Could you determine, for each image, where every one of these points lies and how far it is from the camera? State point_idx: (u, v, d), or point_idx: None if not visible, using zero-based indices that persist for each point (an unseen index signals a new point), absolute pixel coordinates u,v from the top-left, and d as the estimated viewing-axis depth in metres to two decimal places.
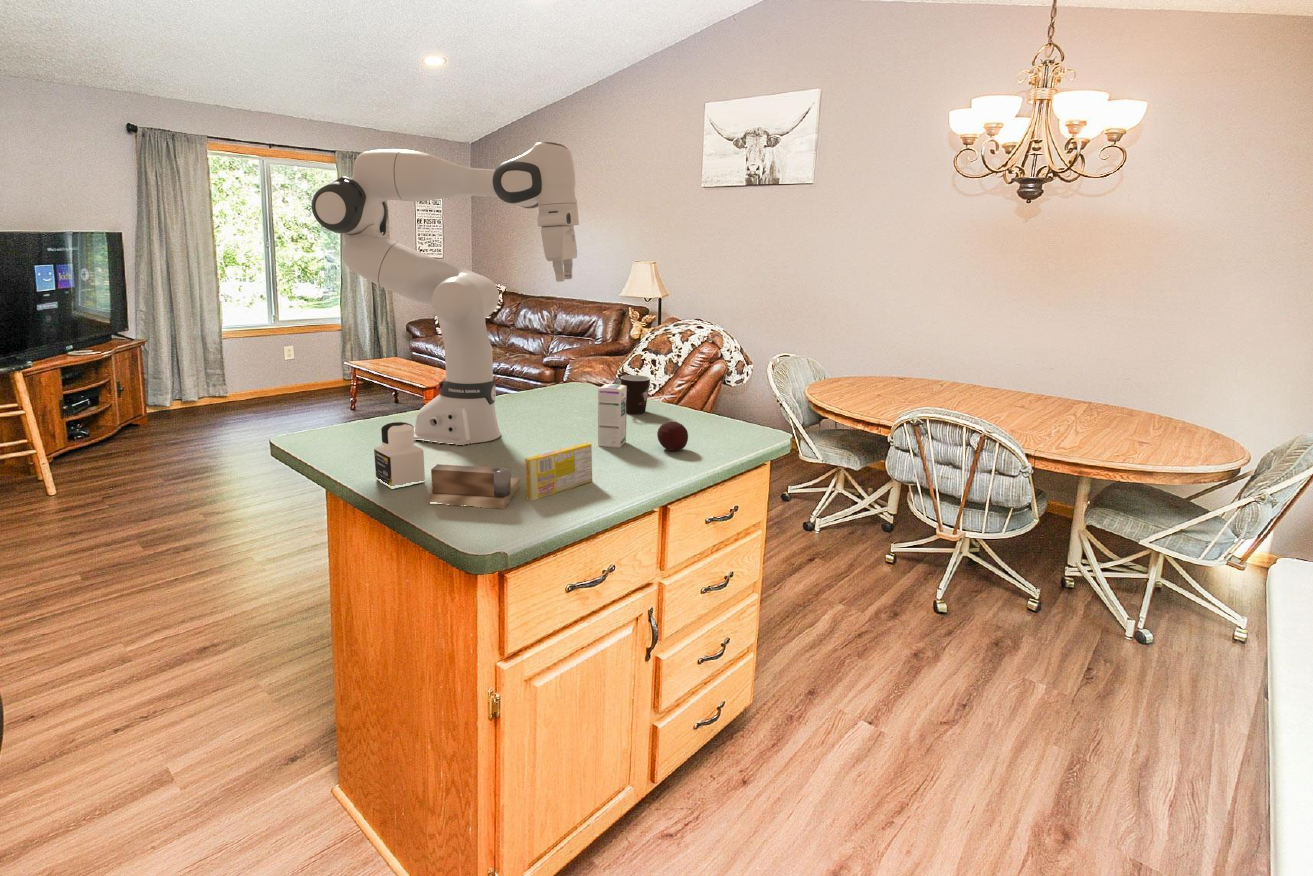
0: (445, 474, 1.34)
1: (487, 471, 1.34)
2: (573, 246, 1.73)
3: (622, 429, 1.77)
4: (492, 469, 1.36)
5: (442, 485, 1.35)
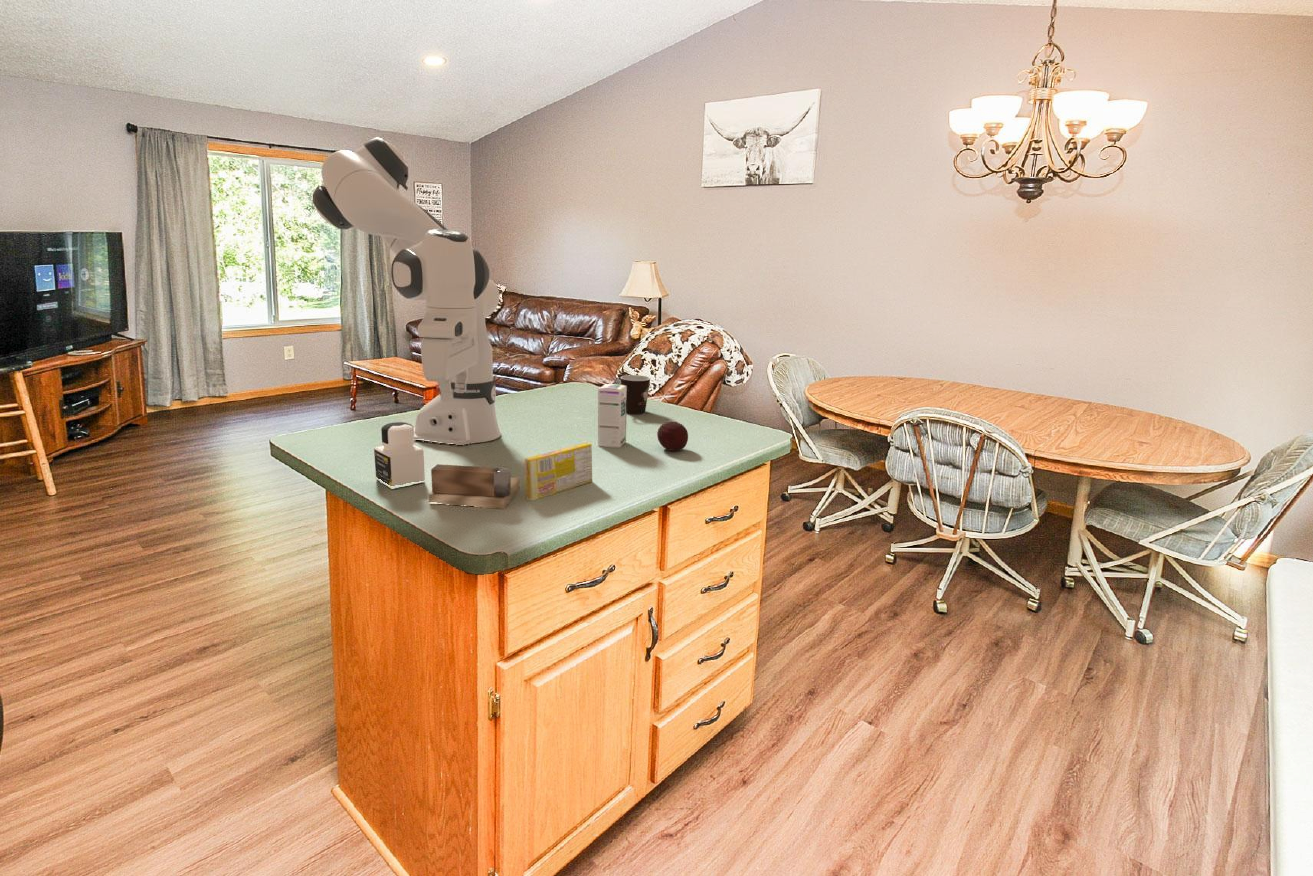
0: (445, 474, 1.34)
1: (487, 471, 1.34)
2: (471, 353, 1.40)
3: (622, 429, 1.77)
4: (492, 469, 1.36)
5: (442, 485, 1.35)
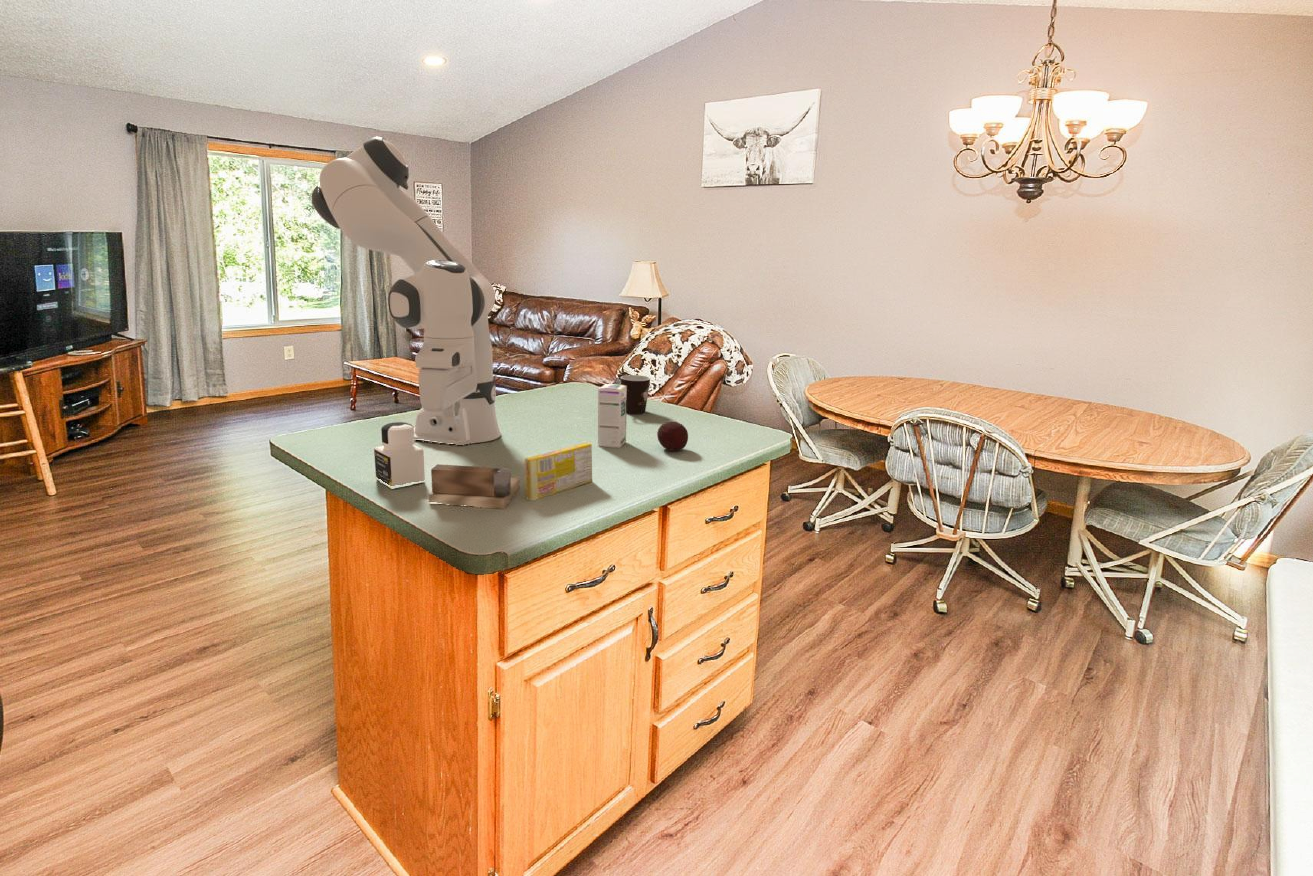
0: (445, 474, 1.34)
1: (487, 471, 1.34)
2: (469, 380, 1.41)
3: (622, 429, 1.77)
4: (492, 469, 1.36)
5: (442, 485, 1.35)
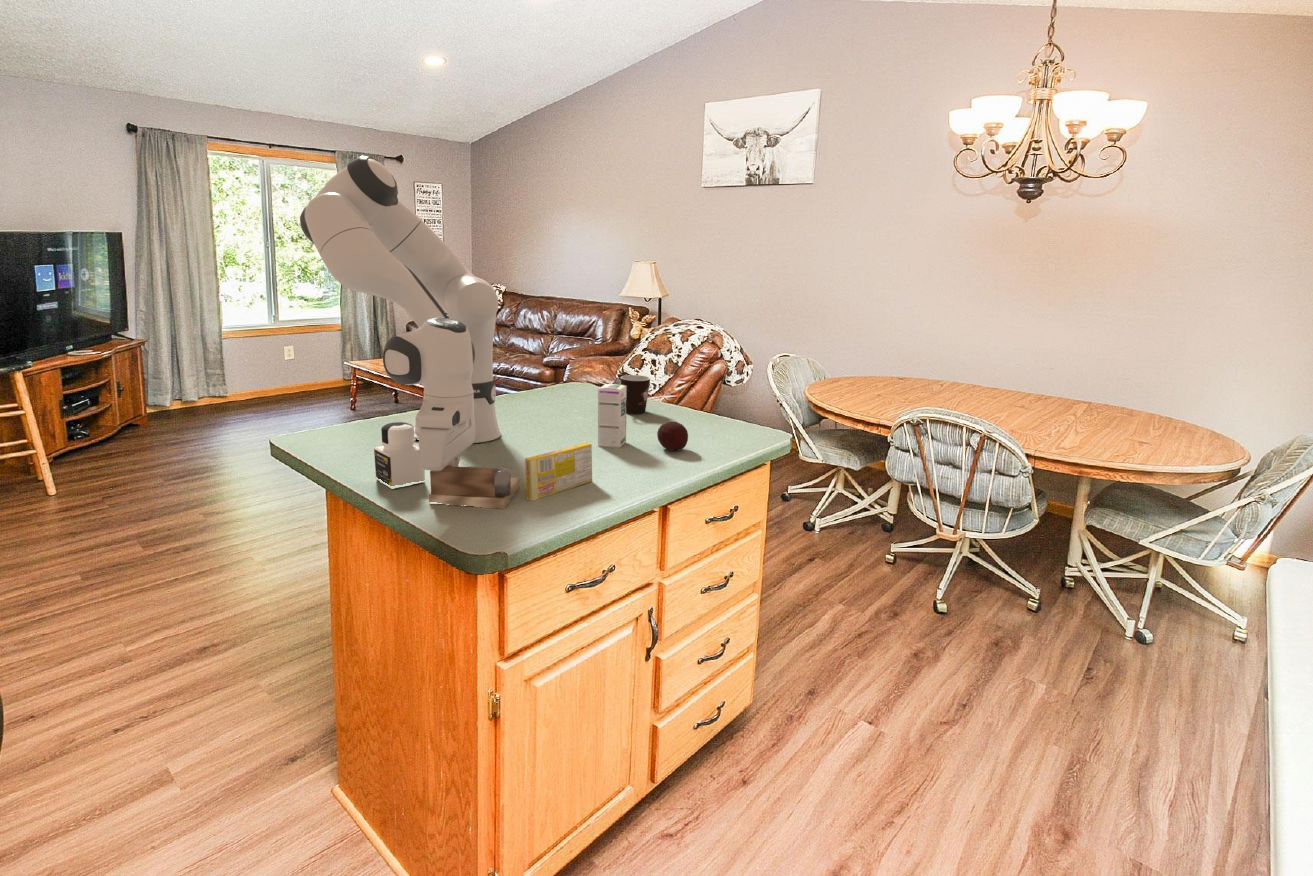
0: (444, 476, 1.34)
1: (487, 471, 1.34)
2: (468, 434, 1.42)
3: (622, 429, 1.77)
4: (491, 469, 1.35)
5: (441, 486, 1.34)
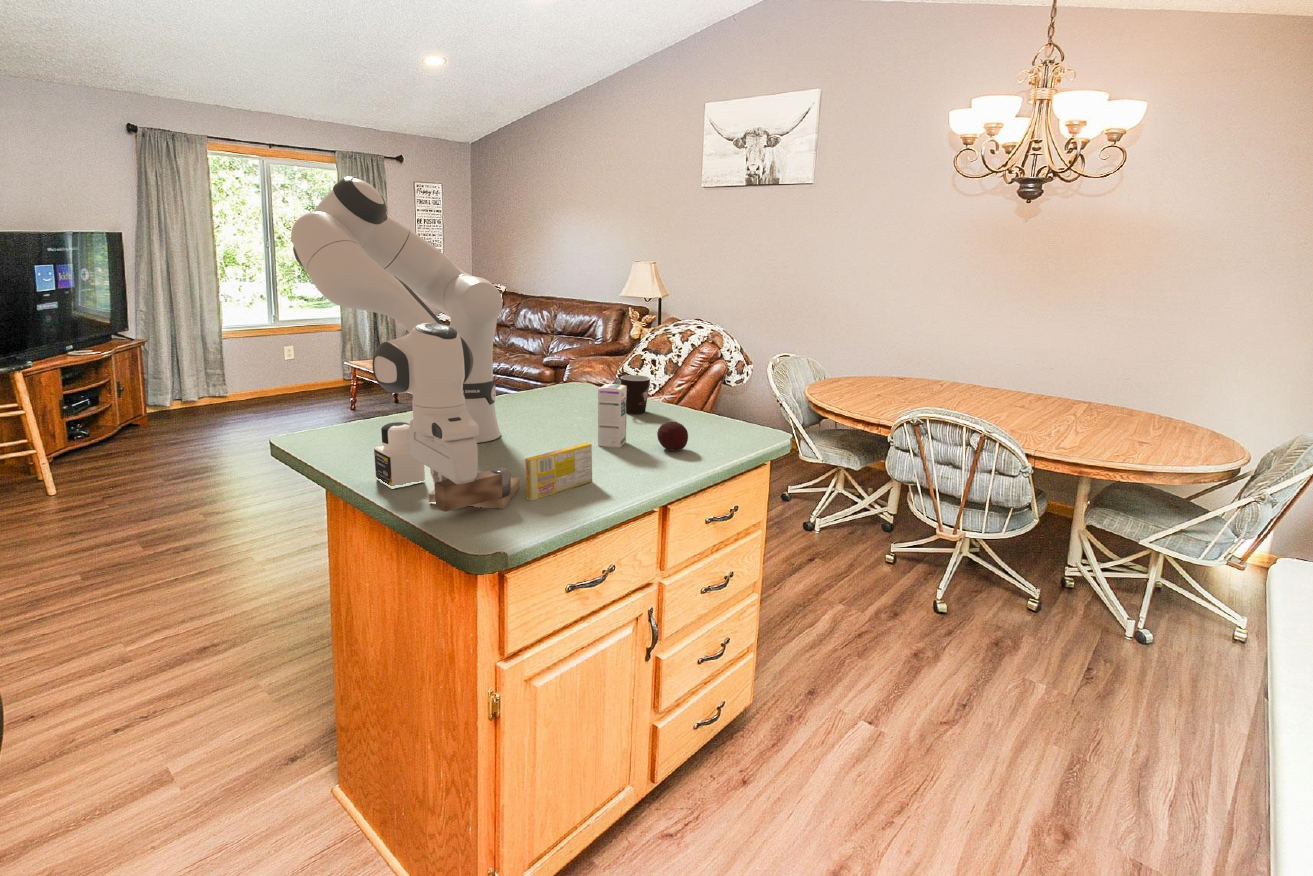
0: (458, 488, 1.27)
1: (492, 474, 1.33)
2: None
3: (622, 429, 1.77)
4: (491, 472, 1.34)
5: (455, 500, 1.28)
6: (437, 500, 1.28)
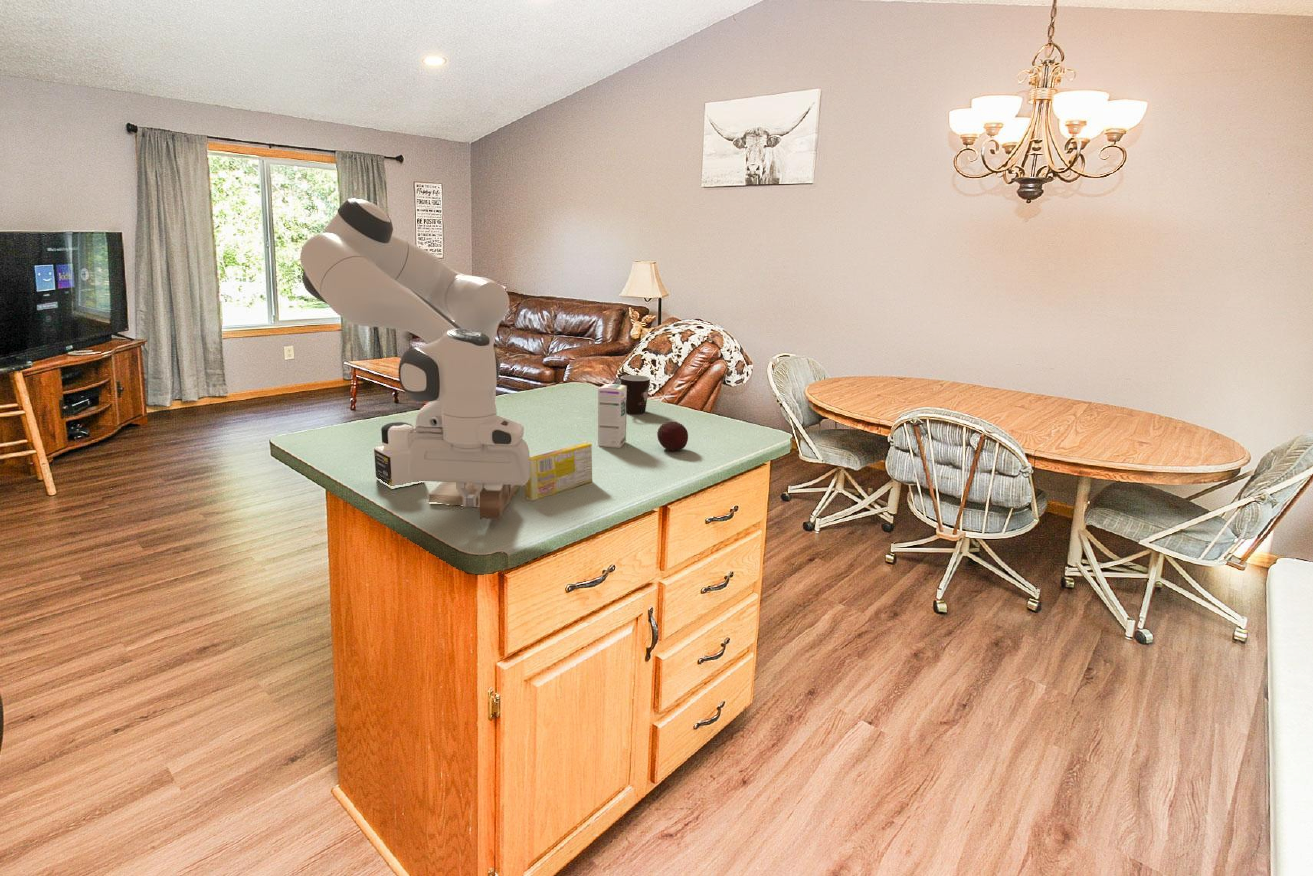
0: (501, 493, 1.26)
1: None
2: None
3: (622, 429, 1.77)
4: None
5: (500, 506, 1.26)
6: (484, 511, 1.24)
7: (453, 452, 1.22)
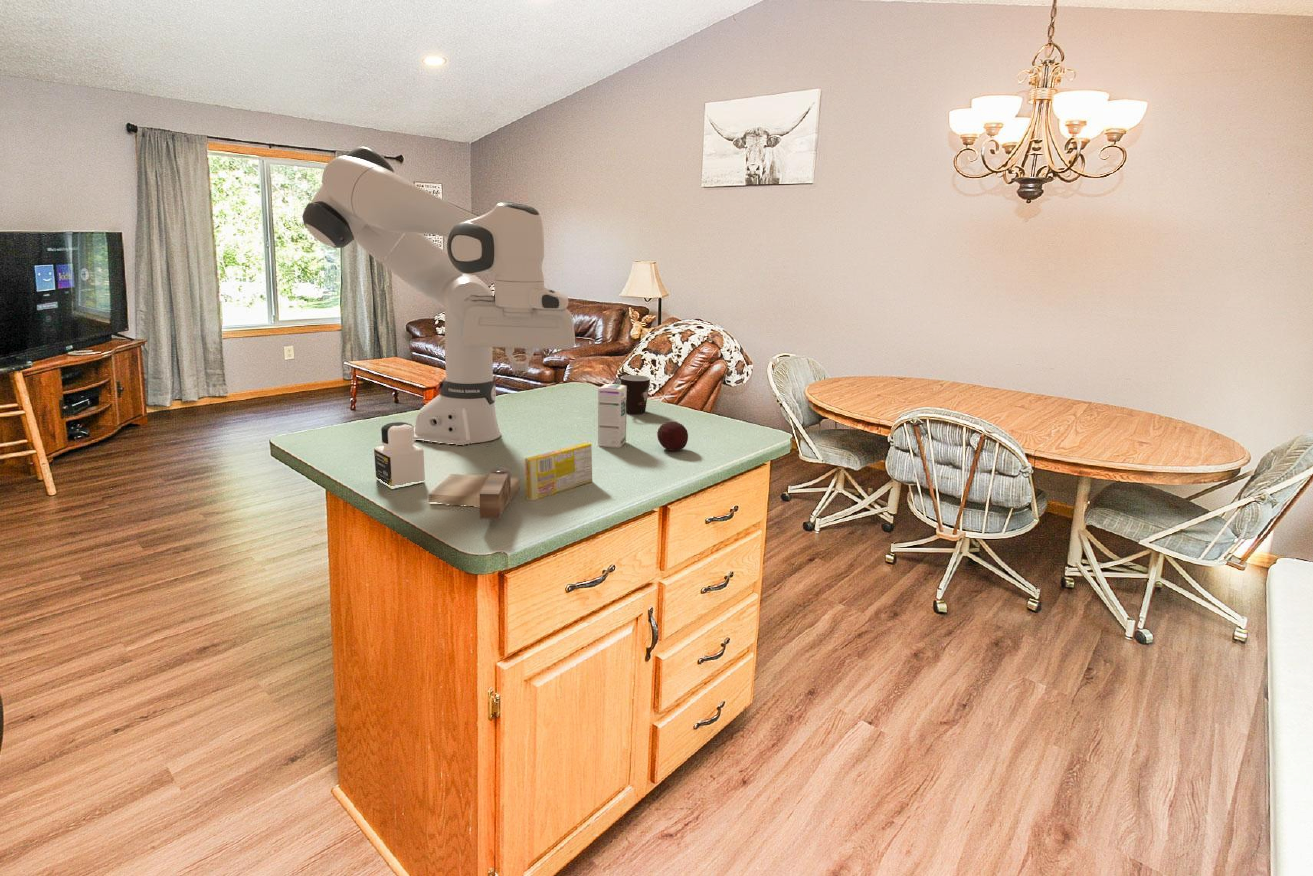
0: (501, 493, 1.26)
1: (503, 474, 1.33)
2: None
3: (622, 429, 1.77)
4: (497, 473, 1.33)
5: (500, 506, 1.26)
6: (484, 511, 1.24)
7: (505, 318, 1.32)
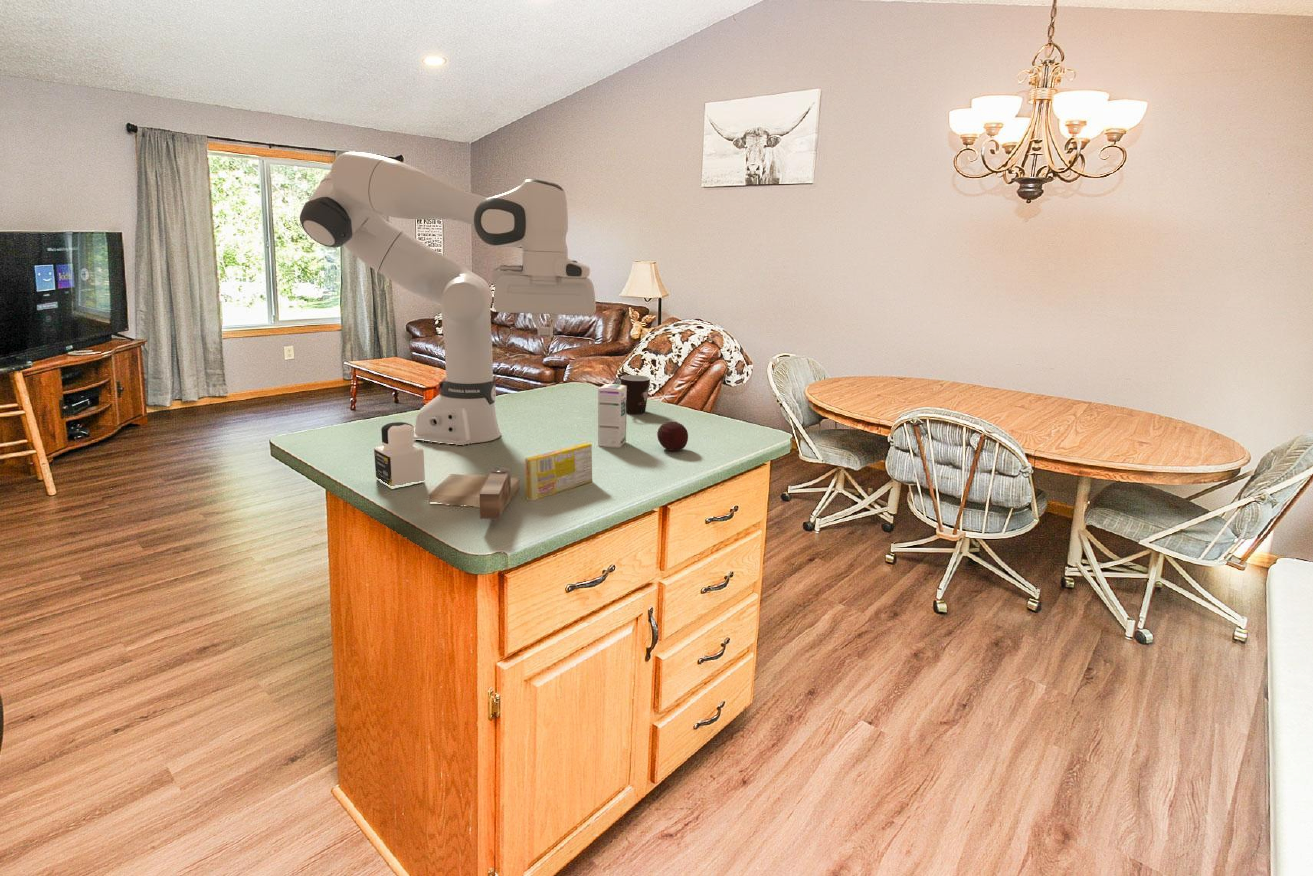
0: (501, 493, 1.26)
1: (503, 474, 1.33)
2: None
3: (622, 429, 1.77)
4: (497, 473, 1.33)
5: (500, 506, 1.26)
6: (484, 511, 1.24)
7: (532, 286, 1.44)
